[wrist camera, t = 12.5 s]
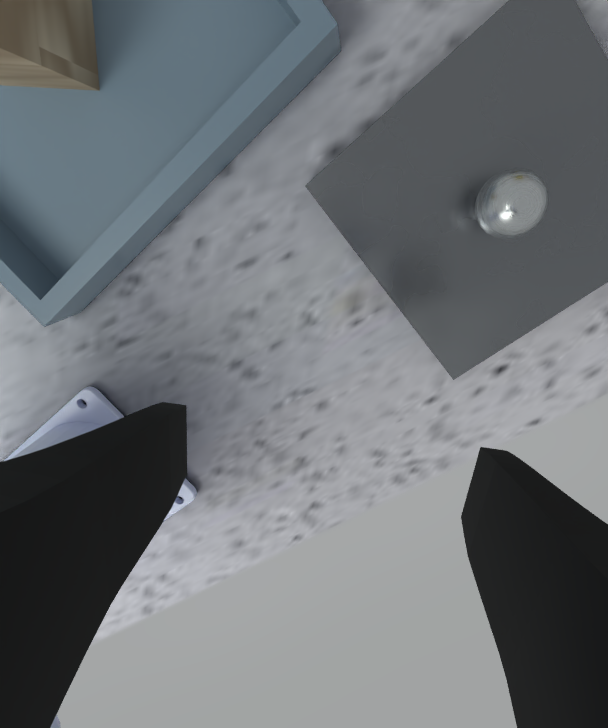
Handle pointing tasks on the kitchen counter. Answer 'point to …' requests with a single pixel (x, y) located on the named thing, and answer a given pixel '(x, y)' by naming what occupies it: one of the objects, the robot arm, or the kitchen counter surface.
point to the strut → (48, 44)
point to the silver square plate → (486, 184)
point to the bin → (141, 134)
